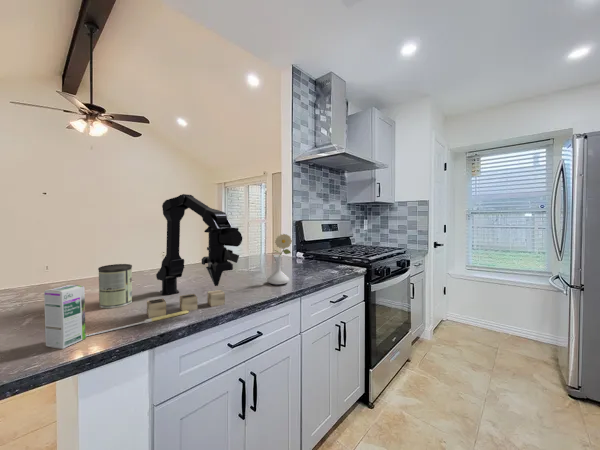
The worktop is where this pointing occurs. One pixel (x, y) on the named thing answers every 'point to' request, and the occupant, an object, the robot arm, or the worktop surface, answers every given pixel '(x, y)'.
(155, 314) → the marked block 1
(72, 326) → the syrup box
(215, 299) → the plain block
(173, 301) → the worktop surface
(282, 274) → the flower in vase
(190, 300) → the marked block 2
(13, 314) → the worktop surface
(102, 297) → the coffee can
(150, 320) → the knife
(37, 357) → the worktop surface
